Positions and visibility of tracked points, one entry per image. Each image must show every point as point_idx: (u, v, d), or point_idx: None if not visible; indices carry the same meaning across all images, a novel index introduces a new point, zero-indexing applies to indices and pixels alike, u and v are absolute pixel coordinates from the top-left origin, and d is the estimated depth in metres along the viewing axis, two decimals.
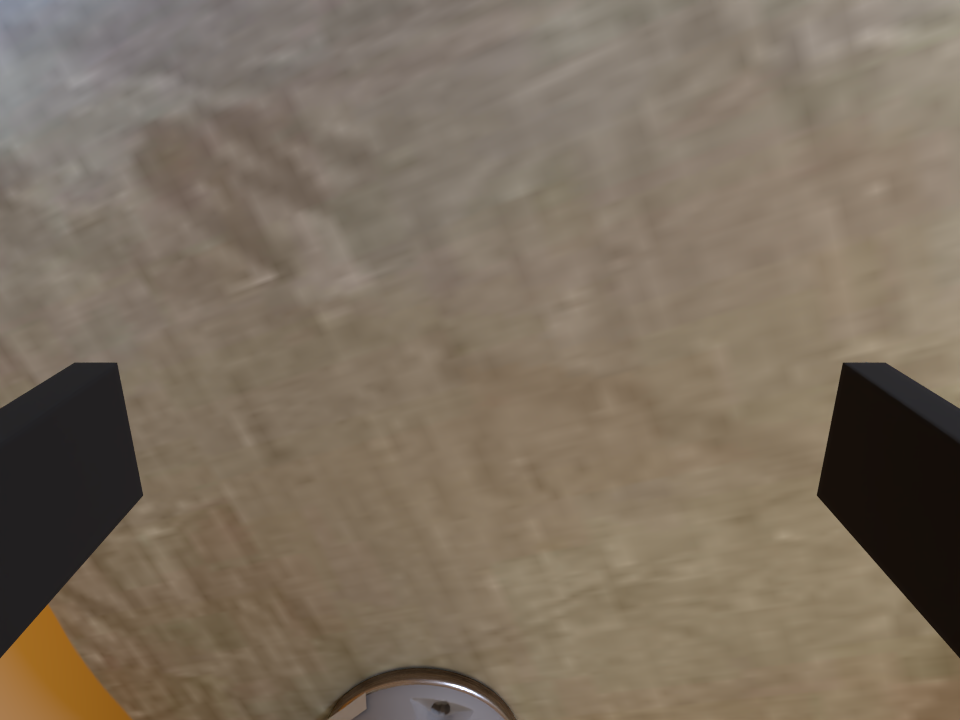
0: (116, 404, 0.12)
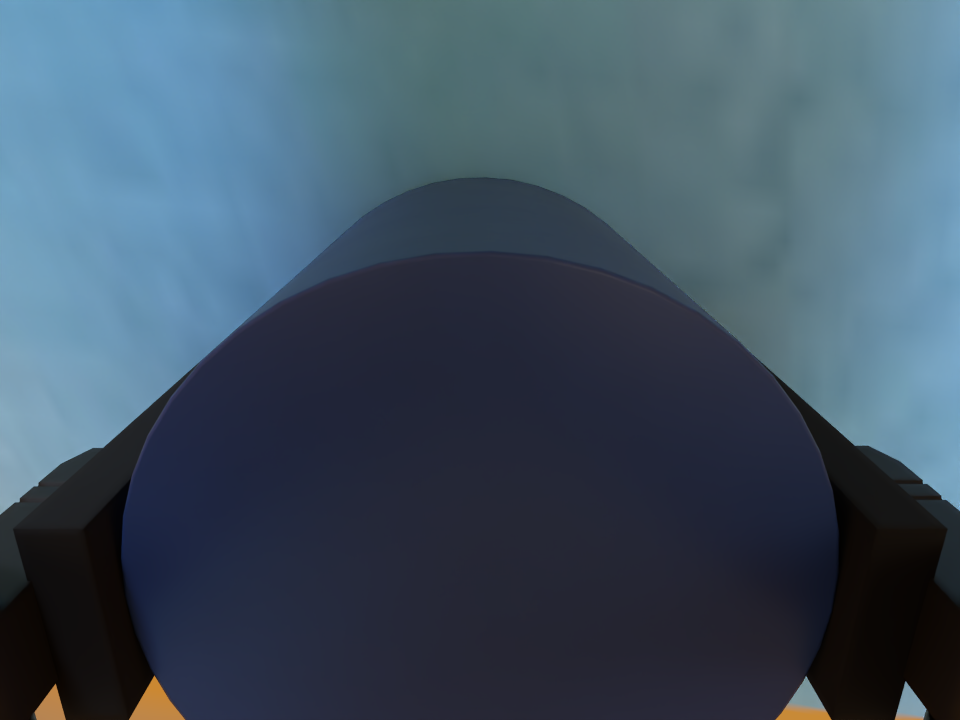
0: None
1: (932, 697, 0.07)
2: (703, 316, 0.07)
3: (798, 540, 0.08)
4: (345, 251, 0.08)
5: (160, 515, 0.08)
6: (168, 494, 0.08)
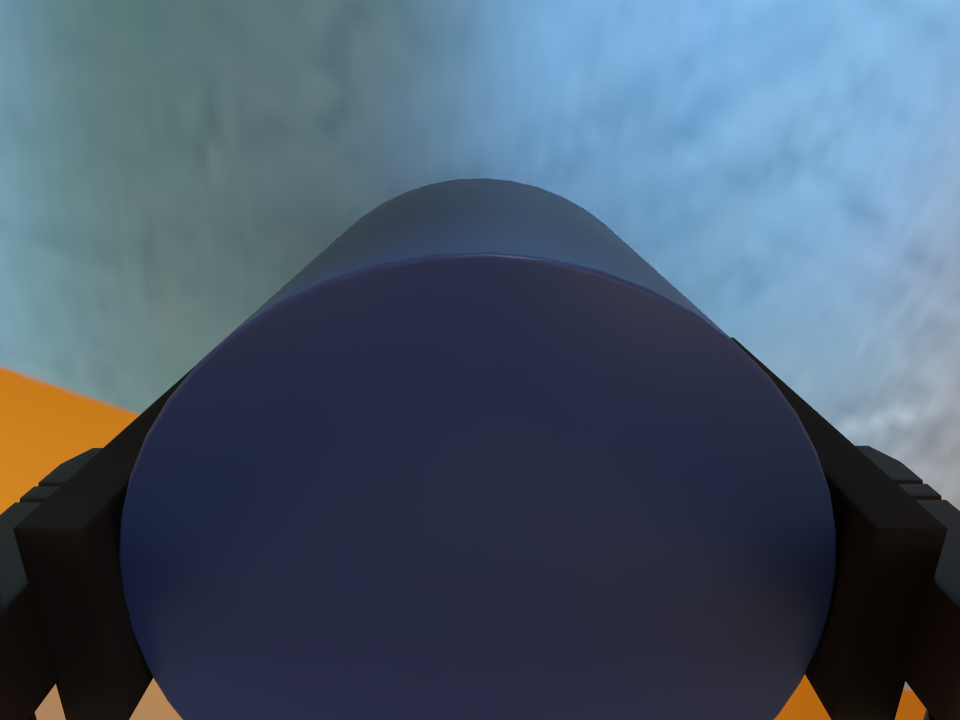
0: None
1: (932, 697, 0.07)
2: (700, 318, 0.07)
3: (795, 541, 0.08)
4: (343, 252, 0.08)
5: (158, 515, 0.08)
6: (166, 495, 0.08)
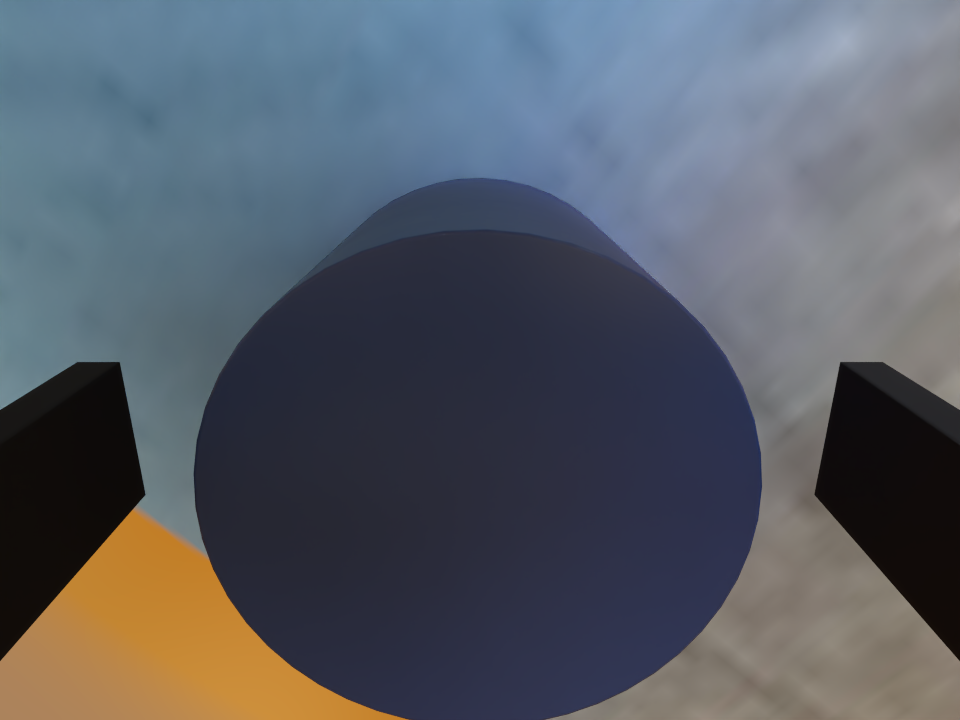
0: (119, 403, 0.12)
1: None
2: (648, 279, 0.09)
3: (728, 459, 0.10)
4: (370, 234, 0.11)
5: (227, 438, 0.10)
6: (233, 422, 0.10)
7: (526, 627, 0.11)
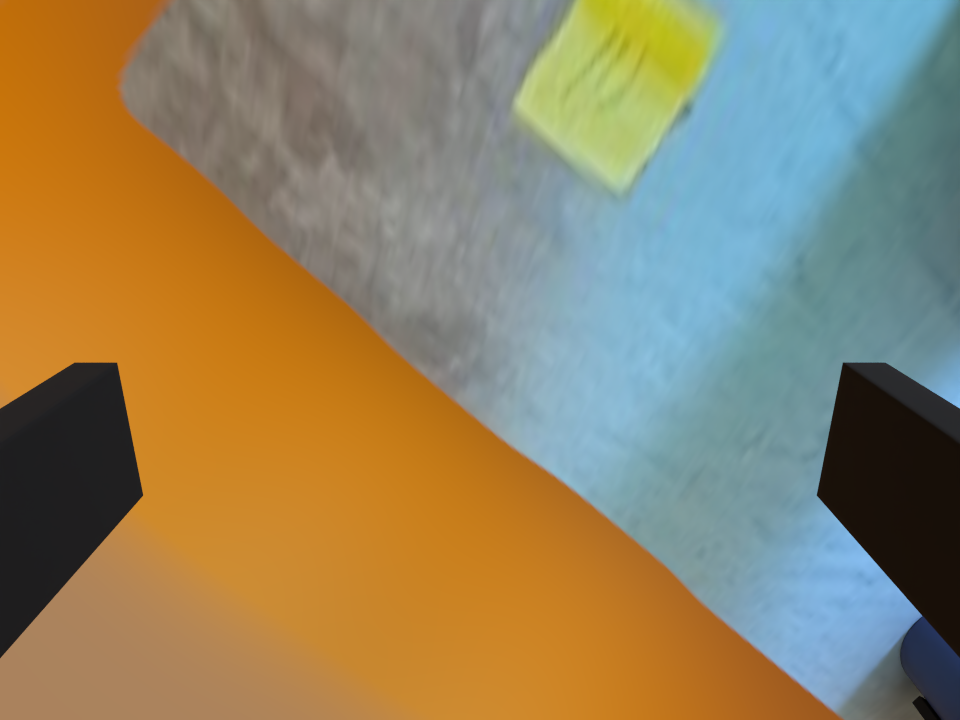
0: (116, 404, 0.12)
1: None
2: None
3: None
4: None
5: None
6: None
7: None
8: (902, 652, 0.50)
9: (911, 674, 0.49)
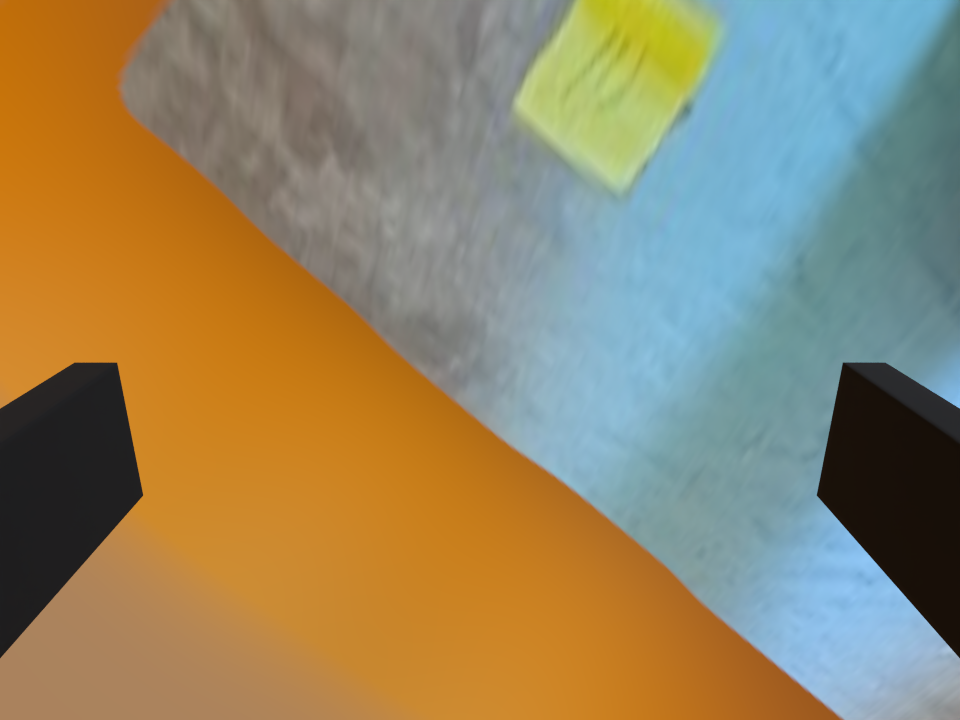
0: (116, 404, 0.12)
1: None
2: None
3: None
4: None
5: None
6: None
7: None
8: None
9: None
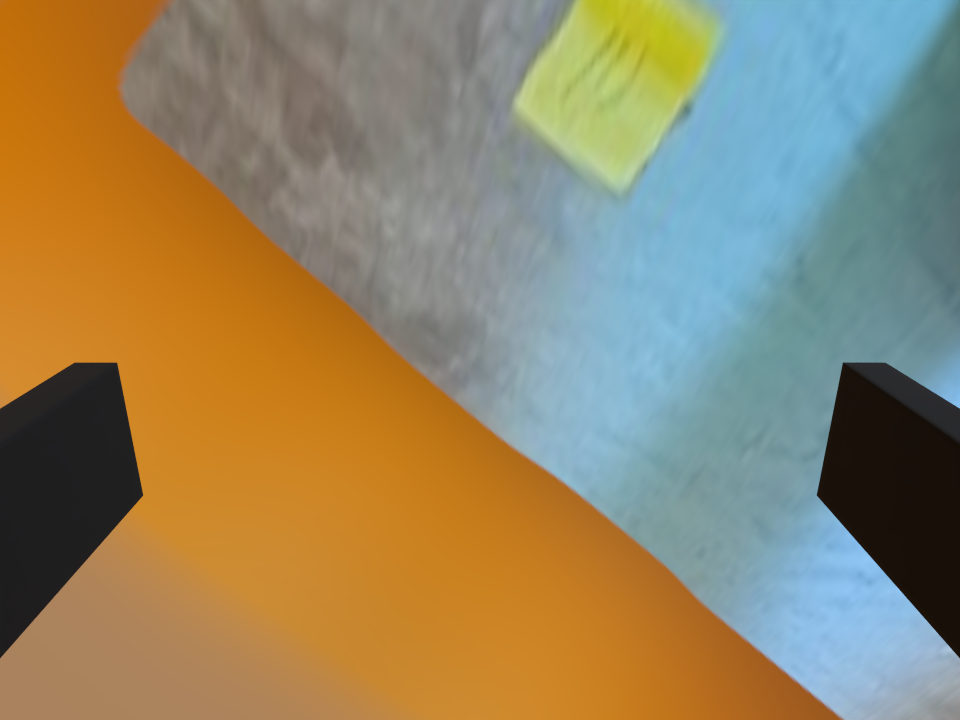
0: (116, 404, 0.12)
1: None
2: None
3: None
4: None
5: None
6: None
7: None
8: None
9: None
